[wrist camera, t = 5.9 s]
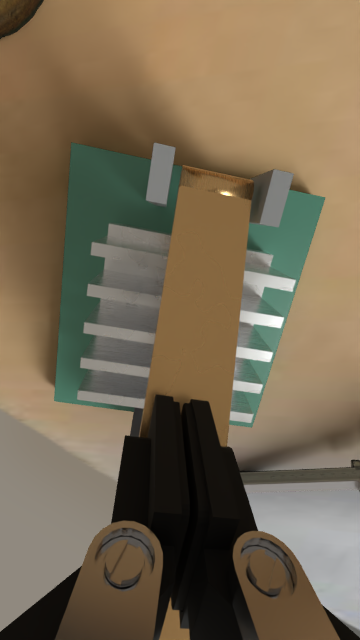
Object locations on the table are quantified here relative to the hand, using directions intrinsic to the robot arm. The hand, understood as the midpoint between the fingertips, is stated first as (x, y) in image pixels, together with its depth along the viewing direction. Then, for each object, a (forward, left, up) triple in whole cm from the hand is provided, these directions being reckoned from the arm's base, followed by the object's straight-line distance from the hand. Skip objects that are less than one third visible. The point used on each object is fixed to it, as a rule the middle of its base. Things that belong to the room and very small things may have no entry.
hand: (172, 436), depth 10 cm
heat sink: (0, 0, -13) cm, 13 cm away
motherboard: (0, 0, -14) cm, 14 cm away
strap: (-1, 0, -3) cm, 3 cm away
